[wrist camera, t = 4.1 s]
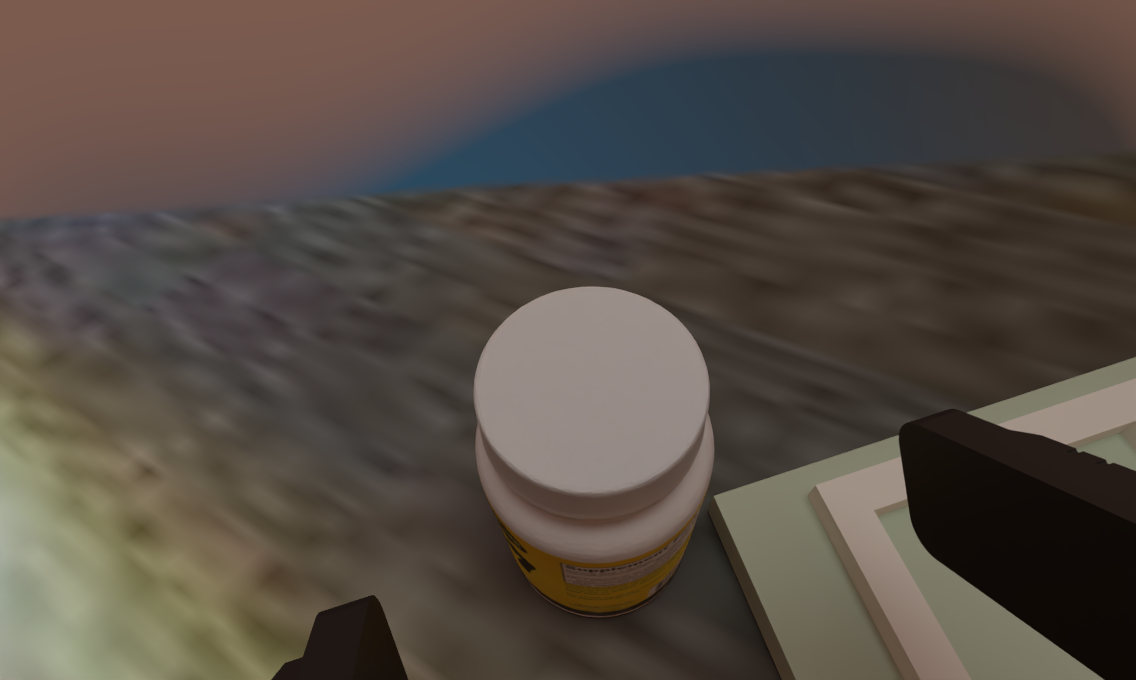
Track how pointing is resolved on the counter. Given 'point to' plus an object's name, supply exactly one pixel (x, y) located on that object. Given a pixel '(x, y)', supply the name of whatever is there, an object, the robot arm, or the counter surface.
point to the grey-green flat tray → (900, 555)
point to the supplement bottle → (594, 445)
